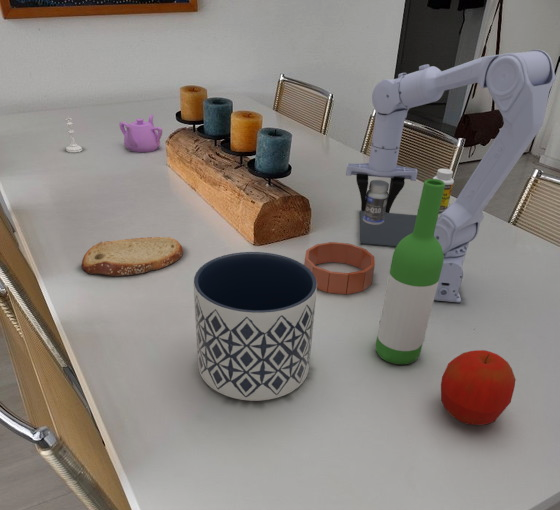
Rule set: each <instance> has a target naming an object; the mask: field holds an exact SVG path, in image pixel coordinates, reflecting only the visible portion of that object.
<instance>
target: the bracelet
mask: <svg viewBox="0 0 560 510" xmlns="http://www.w3.org/2000/svg"><path fill="white" fill-rule="evenodd" d="M375 259H376V258H375V256H374V254H372V253H371V252H369V251H368V250H367V248H364V247H361V246H358V245H355V244H352V243H347V242H338V241H329V242H322V243H316V244H314V245H313V246H311V247H309V248H308V249H306V250H305V254H304V264H303V265H305V266H306V267H307V268H309V269H310V270H311V272H312V273H313V274H314V276H315V278H316V281H317V290H319V291H321V292H324V293H328V294H338V295H350V294H355V293H361V292H363V291H365V290H367V288H369V287H370V286H372V284H373V278H374V273H375V266H376V263H375V262H376V260H375ZM327 263H337V264H338V263H339V264H347V265H349V266H352V267H355V268H358V269H360V270H358V271H353V272H342V271H332V270H331V271H330V270H328V269H325V268H322V267H320V266H317V265H321V264H327Z"/></svg>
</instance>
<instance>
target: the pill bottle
mask: <svg viewBox="0 0 560 510" xmlns="http://www.w3.org/2000/svg"><path fill="white" fill-rule="evenodd" d="M368 187H369V188H368V189H367V193H366V203H365V211H364V214H363V221H364V222H366V223H369V224H373V225H379V224H382V223H383V222H384V219H385V213H386V208H387V202H388V197H389V188H390V183H389V182H388V181H385V180H381V179H373V180H371V181H370V182H369V185H368Z"/></svg>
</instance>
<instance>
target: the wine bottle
mask: <svg viewBox="0 0 560 510" xmlns="http://www.w3.org/2000/svg"><path fill="white" fill-rule="evenodd" d="M444 188H445V183H444V182H443V181H441V180H438V179H433V178H427V179H425V180H424V182H423V185H422V190H421V195H420V199H419V204H418V209H417V212H416V215H417V217H416V222H415V226H414V230H413V233H412V234H409V235H408V236H406V237H405V238H403V239H402V240H401V241H400V242H399V243H398V245H397V247H394V251H393V253H392V258H391V262H390V266H389V267H390V268H389V272H388V277H387V282H386V287H385V293H384V298H383V303H382V308H381V314H380V319H379V324H378V329H377V336H376V341H375V351H376V353H377V355H378V356H379V357H380V358H381V359H382V360H384V361H386V362H387V363H390V364H394V365H401V366H402V365H409V364H412V363H414V362H415V361H416V360H418V358H419V357H420V355H421V352H422V348H423V344H424V341H425V337H426V333H427V329H428V325H429V322H430V317H431V313H432V309H433V306H434V302H435V300H434V298H435V294H436V290H437V286H438V282H439V277H440V273H441V270H442V266H443V261H444V255H443V250H442V247H441V245H440V243H439V242H438V240H437V239H436V238H435V237H434V232H435V227H436V223H437V219H438V218H439V214H440V212H439V210H440V205H441V201H442V196H443V192H444Z"/></svg>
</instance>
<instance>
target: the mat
mask: <svg viewBox="0 0 560 510" xmlns="http://www.w3.org/2000/svg"><path fill="white" fill-rule="evenodd" d="M363 214H364V211H361V210H359V224H360V225H359V234H360V235H359V236H360V237H359V238H360V245H363V246H374V247H375V246H377V247H387V248H396V247H397V245H398V243H399V242H400V241H401V240H402V239H403V238H405V237H406V236H408V235H409V234H412V233H413V230H414V226H415V222H416V217H417V214H405V213H404V214H403V213H394V212H393V213H392V212H389V213H385V219H384V222H383V223H382V224H379V225H373V224H369V223H366V222H364V221H363Z"/></svg>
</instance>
